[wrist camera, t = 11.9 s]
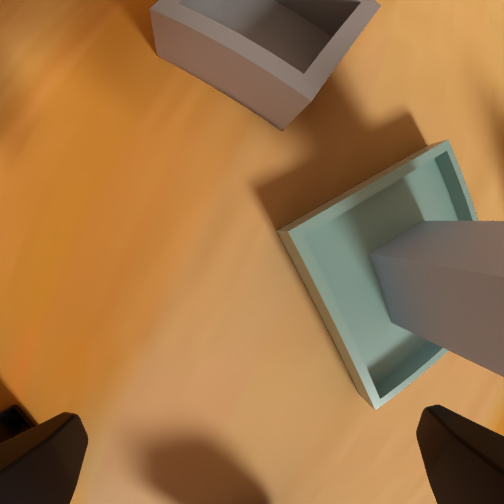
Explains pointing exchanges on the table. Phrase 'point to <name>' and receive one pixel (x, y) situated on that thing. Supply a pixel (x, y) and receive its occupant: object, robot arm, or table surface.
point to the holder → (260, 47)
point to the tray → (361, 269)
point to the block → (448, 286)
